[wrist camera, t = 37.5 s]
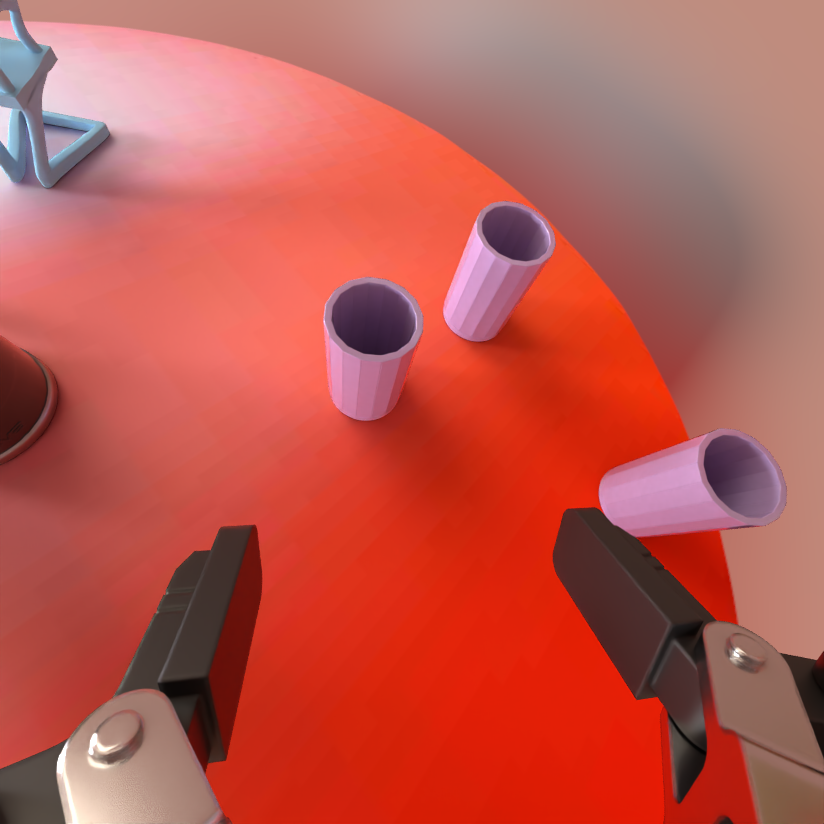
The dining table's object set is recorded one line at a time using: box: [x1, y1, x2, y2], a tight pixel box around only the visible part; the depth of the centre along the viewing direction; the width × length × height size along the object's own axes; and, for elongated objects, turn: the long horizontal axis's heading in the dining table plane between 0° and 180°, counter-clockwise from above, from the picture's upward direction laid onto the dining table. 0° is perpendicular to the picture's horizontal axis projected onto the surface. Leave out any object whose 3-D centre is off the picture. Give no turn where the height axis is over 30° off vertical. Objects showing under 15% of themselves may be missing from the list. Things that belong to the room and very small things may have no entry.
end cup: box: [599, 428, 787, 537], centre depth 29 cm, size 6×6×10 cm
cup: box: [443, 201, 556, 342], centre depth 33 cm, size 6×6×10 cm
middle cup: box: [324, 277, 423, 421], centre depth 28 cm, size 6×6×10 cm
